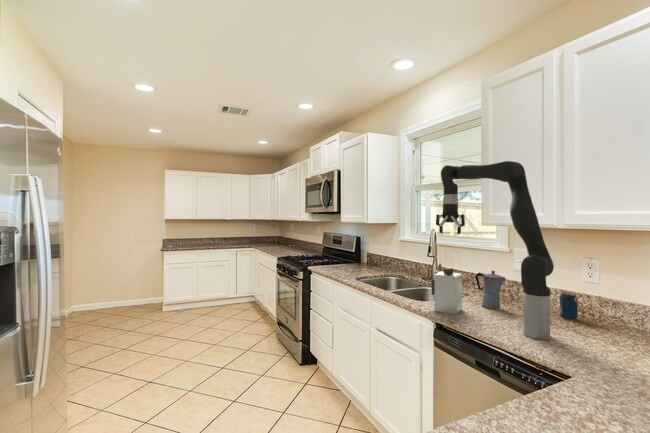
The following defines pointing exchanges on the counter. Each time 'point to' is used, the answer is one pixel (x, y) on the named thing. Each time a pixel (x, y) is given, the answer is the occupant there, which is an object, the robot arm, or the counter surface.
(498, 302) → the moka pot
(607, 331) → the counter surface
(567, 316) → the soda can
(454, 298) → the grey block
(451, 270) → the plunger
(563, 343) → the counter surface
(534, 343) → the counter surface
